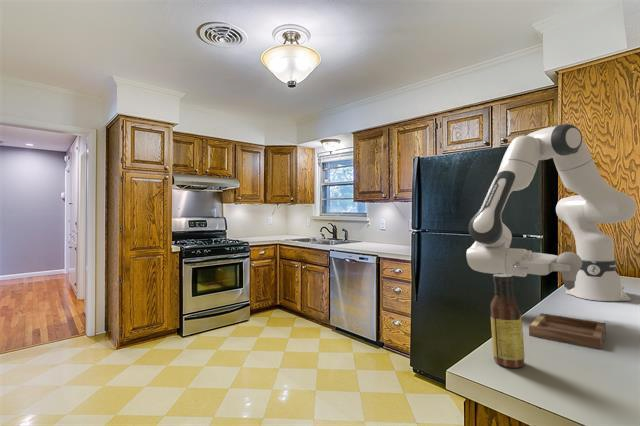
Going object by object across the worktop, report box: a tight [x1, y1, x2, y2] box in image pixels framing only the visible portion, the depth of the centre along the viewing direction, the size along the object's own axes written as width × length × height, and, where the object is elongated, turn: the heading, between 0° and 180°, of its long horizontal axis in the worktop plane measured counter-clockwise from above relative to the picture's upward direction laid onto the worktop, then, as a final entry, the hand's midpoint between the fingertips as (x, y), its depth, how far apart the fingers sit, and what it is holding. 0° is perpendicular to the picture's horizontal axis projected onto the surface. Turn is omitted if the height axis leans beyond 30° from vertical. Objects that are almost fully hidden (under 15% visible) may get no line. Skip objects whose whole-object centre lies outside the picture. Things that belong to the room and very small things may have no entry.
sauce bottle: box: [489, 273, 526, 369], centre depth 76 cm, size 7×6×20 cm
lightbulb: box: [556, 251, 582, 290], centre depth 99 cm, size 6×6×11 cm
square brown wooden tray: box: [528, 313, 607, 350], centre depth 92 cm, size 15×15×2 cm
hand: (572, 266), depth 98 cm, fingers closed on lightbulb, 5 cm apart
